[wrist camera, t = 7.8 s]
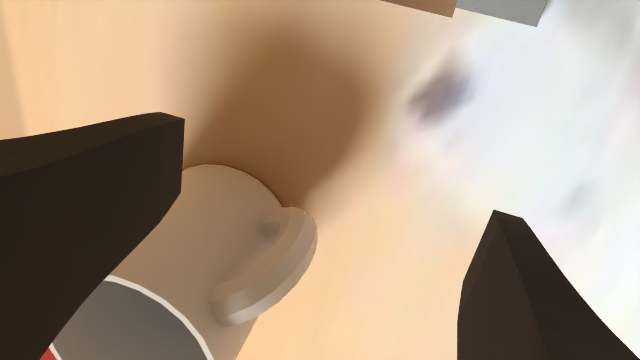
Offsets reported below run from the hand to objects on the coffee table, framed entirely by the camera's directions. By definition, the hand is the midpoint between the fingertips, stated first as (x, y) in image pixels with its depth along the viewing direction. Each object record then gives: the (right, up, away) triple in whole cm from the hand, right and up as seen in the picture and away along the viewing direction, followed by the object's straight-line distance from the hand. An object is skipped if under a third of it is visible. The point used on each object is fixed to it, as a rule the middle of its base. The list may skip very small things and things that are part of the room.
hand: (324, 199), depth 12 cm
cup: (-4, -1, +14) cm, 15 cm away
